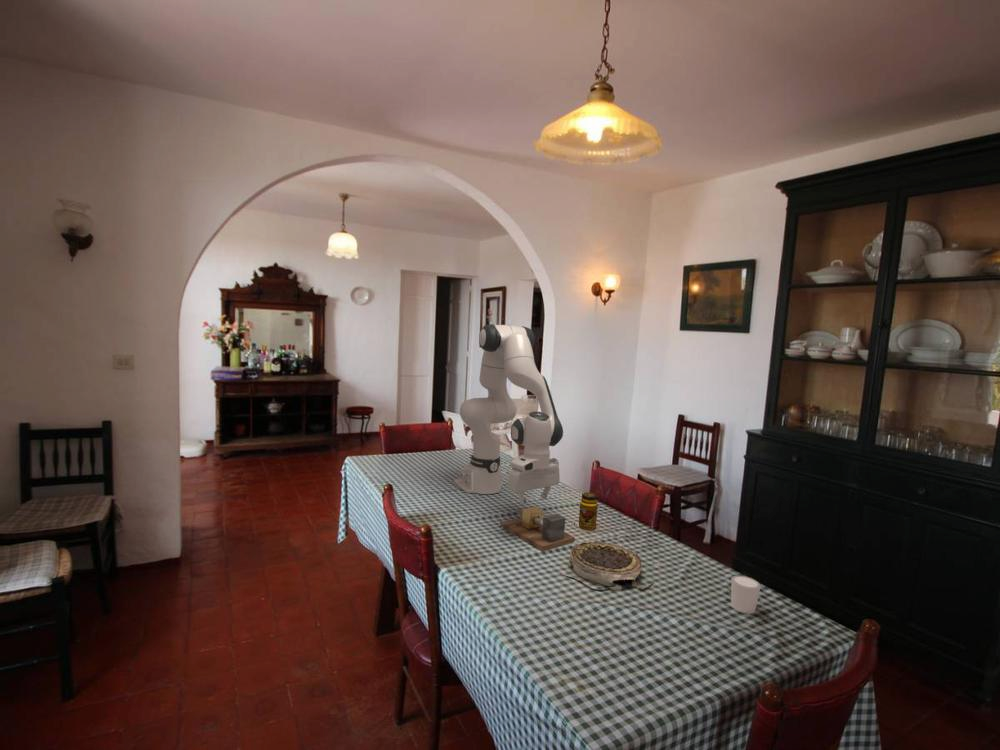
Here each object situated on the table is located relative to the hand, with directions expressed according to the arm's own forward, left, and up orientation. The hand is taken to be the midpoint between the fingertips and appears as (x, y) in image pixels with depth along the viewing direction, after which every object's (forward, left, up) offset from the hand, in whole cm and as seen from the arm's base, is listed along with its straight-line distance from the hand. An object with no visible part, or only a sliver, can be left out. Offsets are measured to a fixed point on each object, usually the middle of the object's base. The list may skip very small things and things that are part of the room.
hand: (533, 501), depth 170 cm
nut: (0, 0, -9) cm, 9 cm away
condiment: (+6, +20, -11) cm, 24 cm away
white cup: (+64, +17, -11) cm, 68 cm away
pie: (+31, +2, -11) cm, 33 cm away
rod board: (+2, 0, -11) cm, 11 cm away
